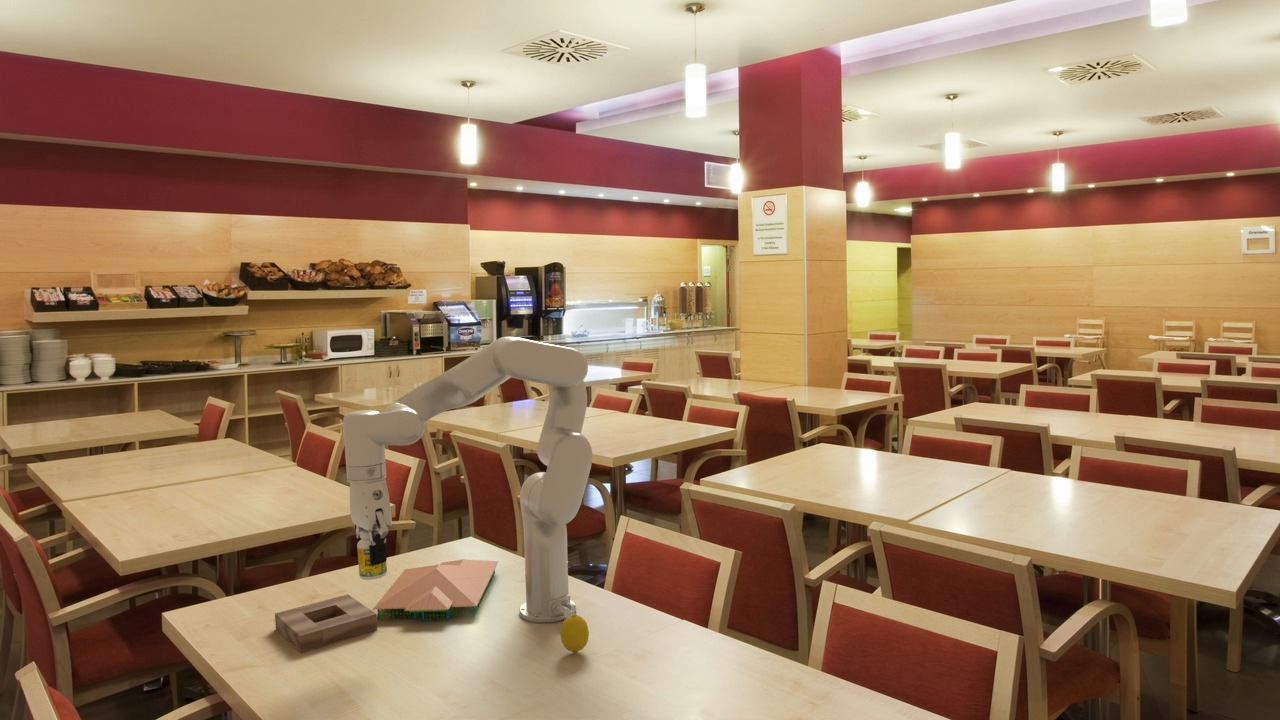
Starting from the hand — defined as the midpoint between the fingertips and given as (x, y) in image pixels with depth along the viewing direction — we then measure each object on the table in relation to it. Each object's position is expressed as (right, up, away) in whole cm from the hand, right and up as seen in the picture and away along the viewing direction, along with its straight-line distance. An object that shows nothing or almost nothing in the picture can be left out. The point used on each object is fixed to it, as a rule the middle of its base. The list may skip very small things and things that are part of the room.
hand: (372, 558), depth 162 cm
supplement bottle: (0, -4, 0) cm, 4 cm away
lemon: (+42, -18, -4) cm, 45 cm away
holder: (-13, -18, +11) cm, 25 cm away
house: (+7, -17, +28) cm, 34 cm away
